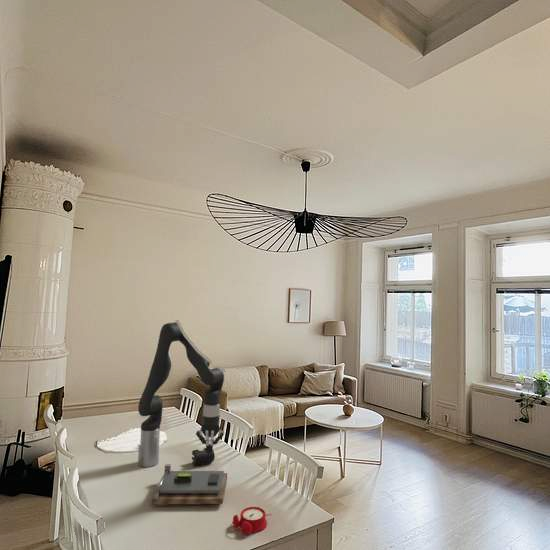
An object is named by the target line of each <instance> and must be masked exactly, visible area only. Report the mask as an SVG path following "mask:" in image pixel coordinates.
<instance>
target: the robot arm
mask: <svg viewBox="0 0 550 550" xmlns="http://www.w3.org/2000/svg"><path fill="white" fill-rule="evenodd" d="M178 341H179V343H180V344H182V345H183V346H184V348H185V351H186V357H187V360H188V361H189V363H190V364H191V365H192V367H194V369H195V370H196V371H197V374H198V377H199V378H200V381H201V382H202V384H204V385H206V386H208V387H209V388H207V390H205V392H204V396H203V408H202V421H201V428H200V429H199V430H196V433H195V435H196V437H197V438H198V439H199V441H200V442H201V444H202V445H205V448H206V452H207V454H211V453H212V451H213V450H214V445H217V444H218V443H219V441H220V440H221V439H222V438H223V436H224V435H225V431H223V430H222V429H221V427H220V415H221V406H220V405H221V404H220V403H221V401H220V399H221V392H222V388H223V386H224V382H225V374H224V373H225V372H224V370H223V369H221V368H219V367H214V368H210V367H209V366H210V364H211V362H210V361H209V360H208V359H207V358H206V357H204V356H203V355H202V354H201V353H200V352H198V350H197V349H196V348H195V347H194V346H193V344H192V343H191V342H190V341H189V340H188V338H187V337H186V336H185V334H184V333H183V331H182V329H181V327H180V325H179V323H178V321H175V322H167V323H165V324H163V325H162V326H161V329H160V332H159V336H158V342H157V346H156V351H155V355H154V359H153V362H152V364H151V366H150V367H151V368H150V371H149V374H148V378H147V381H146V384H145V387H144V390H143V392H142V394H141V397H140V399H139V402H138V408H137V409H138V411H137V412H138V413H139V415H140V416H142V417H148V418H146V419H144V421H143V422H142V423H140V428H141V440H140V445H139V451H138V455H137V456H138V457H137V459H138V461H137V466H140V467H144V468H145V467H146V468H149V467H154V466H157V465H158V464H159V459H160V445H159V438H160V431H161V423H162V418H163V416H162V415H163V410H164V409H163V407H164V406H163V405H164V404H163V398H162V397H161V396H160V395H158V394H156V392H158V390H159V389H160V388H161V387H162V386H163V385H164V384H165V383H166V382H167V380H168V379H169V376H170V372H171V369H172V360H171V358H170V355H169V351H170V347H171V344H172V343H174V342H178ZM155 394H156V395H155ZM217 435H218V436H217ZM216 436H217V437H216ZM215 437H216V438H215Z"/></svg>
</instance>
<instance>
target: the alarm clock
mask: <svg viewBox="0 0 550 550" xmlns="http://www.w3.org/2000/svg"><path fill="white" fill-rule="evenodd" d="M267 516H272V513H270V514H266V511H265V509H263V508H261V507H260V506H250V507H249V506H248V507H245V508H243V509H242V510H241V512H240V517H239V516H238V514H235V515H233V517H232V523H231V524H230V529H232V530H233V531H236V532H242V534H243V535H246V536H248V535H251V533H258V532H261V531H263V530H265V529H266V528H267V526H268V521H267V518H266V517H267ZM232 526H233V527H232Z"/></svg>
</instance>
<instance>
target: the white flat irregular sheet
mask: <svg viewBox="0 0 550 550" xmlns="http://www.w3.org/2000/svg"><path fill="white" fill-rule="evenodd" d="M134 428H135V427H134ZM130 429H131V430H129V431H127V432H126V433H125V432H123V433H124V434H123V433H122V434H120V435H118V436H117V437H112V438H110V439H108V438H107V440H109V441H107V440H106V441H104V440H102V441H103V442H102V441H101V442H98V443H99V444H98V443H97V444H98V445H97V447H99V448H100V449H102V450H105V451H104V452H105V453H112V452H122V453H121V454H125V453H124V452H130V453H135V452H137V451H138V452H139V445H140V440H141V427H137V428H135V429H133V428H130ZM132 429H133V430H132ZM129 432H130V433H129ZM167 436H168V435H167V433H166V432H165V431H162V430H160V438H159V446H160V445H162V444H164V443H165V442H168V439H167ZM114 439H115V440H114ZM97 447H96V448H97ZM100 449H99V450H100ZM102 450H101V451H102Z"/></svg>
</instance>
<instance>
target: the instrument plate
mask: <svg viewBox="0 0 550 550" xmlns="http://www.w3.org/2000/svg"><path fill="white" fill-rule="evenodd" d="M164 471H165V470H164ZM224 473H225V471H224V470H171V471H168V470H166V471H165V473H163V475H162V476H161V478H160V480H159V482H158V483H157V485H156V486H159V493H220V489H221V484H222V479H223V474H224Z"/></svg>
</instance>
